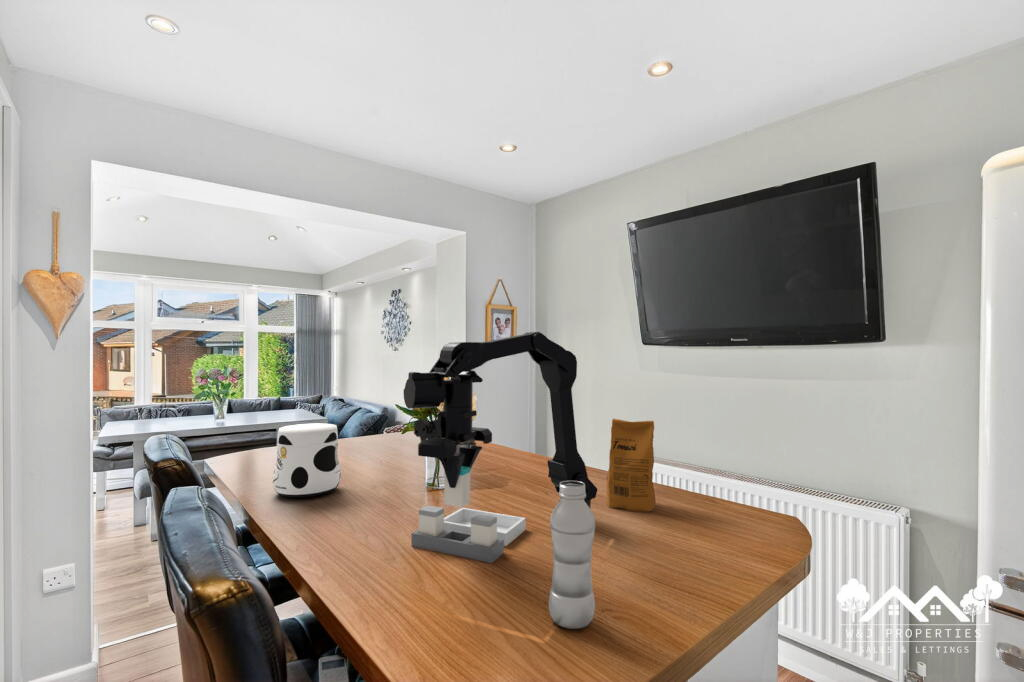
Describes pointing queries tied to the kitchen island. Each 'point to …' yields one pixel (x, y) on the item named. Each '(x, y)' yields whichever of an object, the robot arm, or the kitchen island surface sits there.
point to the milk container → (307, 460)
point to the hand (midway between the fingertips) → (457, 485)
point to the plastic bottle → (572, 558)
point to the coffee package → (631, 466)
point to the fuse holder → (458, 545)
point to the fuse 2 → (484, 530)
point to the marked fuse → (458, 489)
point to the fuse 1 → (431, 520)
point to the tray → (506, 524)
